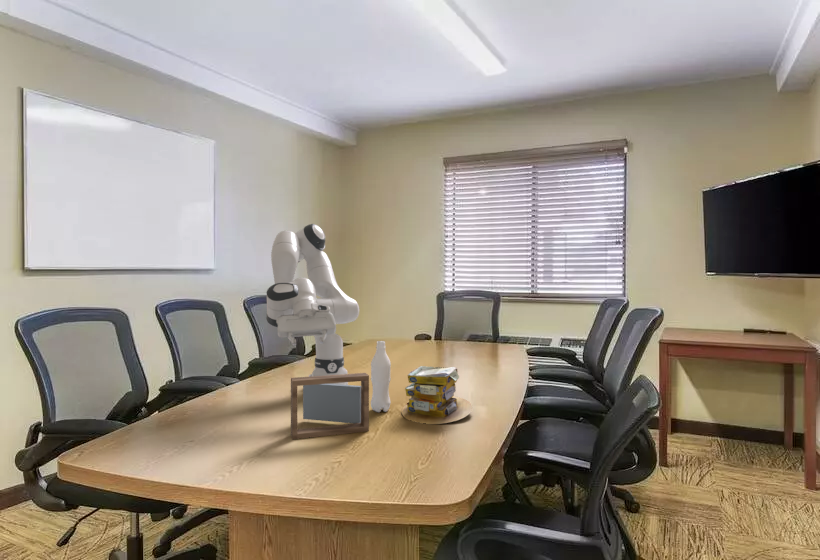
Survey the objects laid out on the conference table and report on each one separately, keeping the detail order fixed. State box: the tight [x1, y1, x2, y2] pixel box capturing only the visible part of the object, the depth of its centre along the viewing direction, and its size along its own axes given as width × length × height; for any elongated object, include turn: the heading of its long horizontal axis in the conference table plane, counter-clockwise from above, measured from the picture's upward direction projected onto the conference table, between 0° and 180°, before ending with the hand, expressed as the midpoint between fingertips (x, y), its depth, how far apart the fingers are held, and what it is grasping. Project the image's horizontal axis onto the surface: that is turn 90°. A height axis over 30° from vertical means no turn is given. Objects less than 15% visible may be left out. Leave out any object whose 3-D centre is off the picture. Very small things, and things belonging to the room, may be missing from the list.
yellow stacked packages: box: [401, 365, 473, 425], centre depth 178 cm, size 25×25×17 cm
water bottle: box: [370, 340, 392, 413], centre depth 181 cm, size 7×7×25 cm
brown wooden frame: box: [290, 372, 370, 440], centre depth 156 cm, size 4×24×18 cm, turn 110°
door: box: [302, 384, 361, 424], centre depth 166 cm, size 2×20×12 cm, turn 75°
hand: (308, 343), depth 173 cm, fingers open, 8 cm apart
